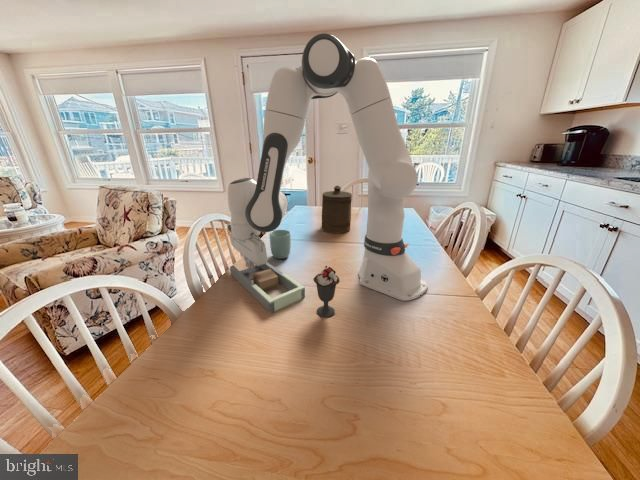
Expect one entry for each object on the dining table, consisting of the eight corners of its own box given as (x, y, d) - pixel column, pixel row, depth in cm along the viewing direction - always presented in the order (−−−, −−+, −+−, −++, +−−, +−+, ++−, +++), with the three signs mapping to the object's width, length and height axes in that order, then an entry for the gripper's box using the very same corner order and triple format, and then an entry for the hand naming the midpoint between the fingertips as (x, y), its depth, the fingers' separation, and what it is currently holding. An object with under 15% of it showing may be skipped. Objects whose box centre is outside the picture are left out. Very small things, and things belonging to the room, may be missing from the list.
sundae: (320, 323, 65) (321, 270, 59) (309, 308, 70) (308, 259, 65) (342, 315, 67) (345, 265, 62) (330, 301, 73) (331, 254, 67)
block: (278, 287, 80) (278, 276, 79) (260, 293, 77) (259, 282, 76) (270, 279, 85) (270, 268, 83) (253, 284, 82) (252, 273, 80)
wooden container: (352, 225, 137) (354, 184, 129) (347, 234, 124) (349, 189, 116) (325, 223, 141) (326, 182, 132) (318, 231, 127) (318, 187, 119)
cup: (287, 262, 96) (286, 237, 92) (268, 260, 98) (266, 235, 94) (293, 253, 103) (292, 230, 100) (275, 251, 105) (273, 228, 101)
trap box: (304, 297, 75) (304, 287, 74) (270, 313, 68) (269, 302, 67) (261, 264, 94) (260, 256, 93) (231, 274, 87) (229, 265, 86)
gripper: (270, 236, 77) (273, 276, 82) (242, 220, 92) (246, 255, 97) (251, 241, 73) (255, 282, 79) (224, 223, 88) (229, 259, 93)
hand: (250, 267), depth 88 cm, fingers closed
